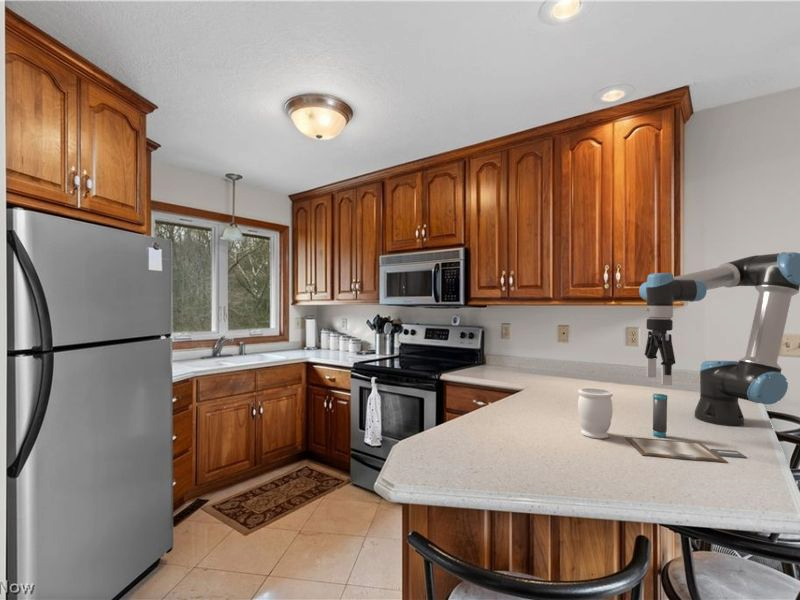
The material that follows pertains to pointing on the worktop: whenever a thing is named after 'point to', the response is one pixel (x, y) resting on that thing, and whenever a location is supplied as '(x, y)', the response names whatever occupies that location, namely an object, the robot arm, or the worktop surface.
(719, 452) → the grey slotted plate
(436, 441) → the worktop surface
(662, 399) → the grey and teal cylinder
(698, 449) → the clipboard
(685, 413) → the worktop surface
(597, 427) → the jar
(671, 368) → the robot arm
